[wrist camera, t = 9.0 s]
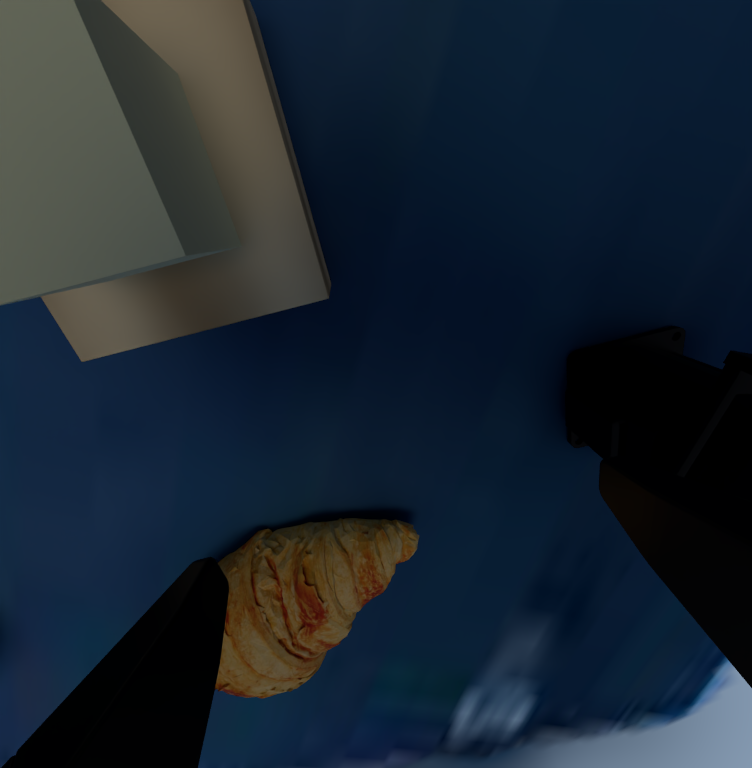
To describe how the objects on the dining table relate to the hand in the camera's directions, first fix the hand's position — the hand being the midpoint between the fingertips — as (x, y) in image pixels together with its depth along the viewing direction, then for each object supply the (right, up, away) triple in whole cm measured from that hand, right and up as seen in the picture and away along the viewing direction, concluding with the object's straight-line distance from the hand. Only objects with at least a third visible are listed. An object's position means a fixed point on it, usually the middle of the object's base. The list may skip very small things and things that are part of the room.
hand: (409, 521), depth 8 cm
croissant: (-7, -11, +18) cm, 22 cm away
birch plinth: (-9, +11, +7) cm, 16 cm away
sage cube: (-9, +10, +4) cm, 13 cm away
